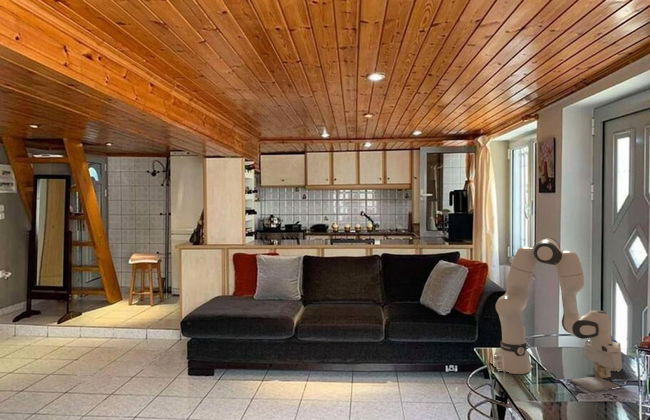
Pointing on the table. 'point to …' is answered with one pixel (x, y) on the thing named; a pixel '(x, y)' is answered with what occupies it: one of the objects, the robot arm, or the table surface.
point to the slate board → (594, 383)
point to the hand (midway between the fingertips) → (602, 373)
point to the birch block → (601, 371)
